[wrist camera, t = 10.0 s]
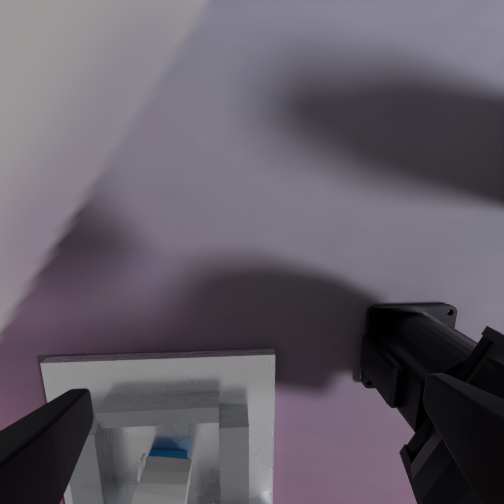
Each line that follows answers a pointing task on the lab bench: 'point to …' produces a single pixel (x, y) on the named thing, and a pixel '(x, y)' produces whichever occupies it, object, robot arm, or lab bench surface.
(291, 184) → the lab bench surface
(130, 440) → the grey metal assembly fixture
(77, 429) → the robot arm
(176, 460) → the electric motor
